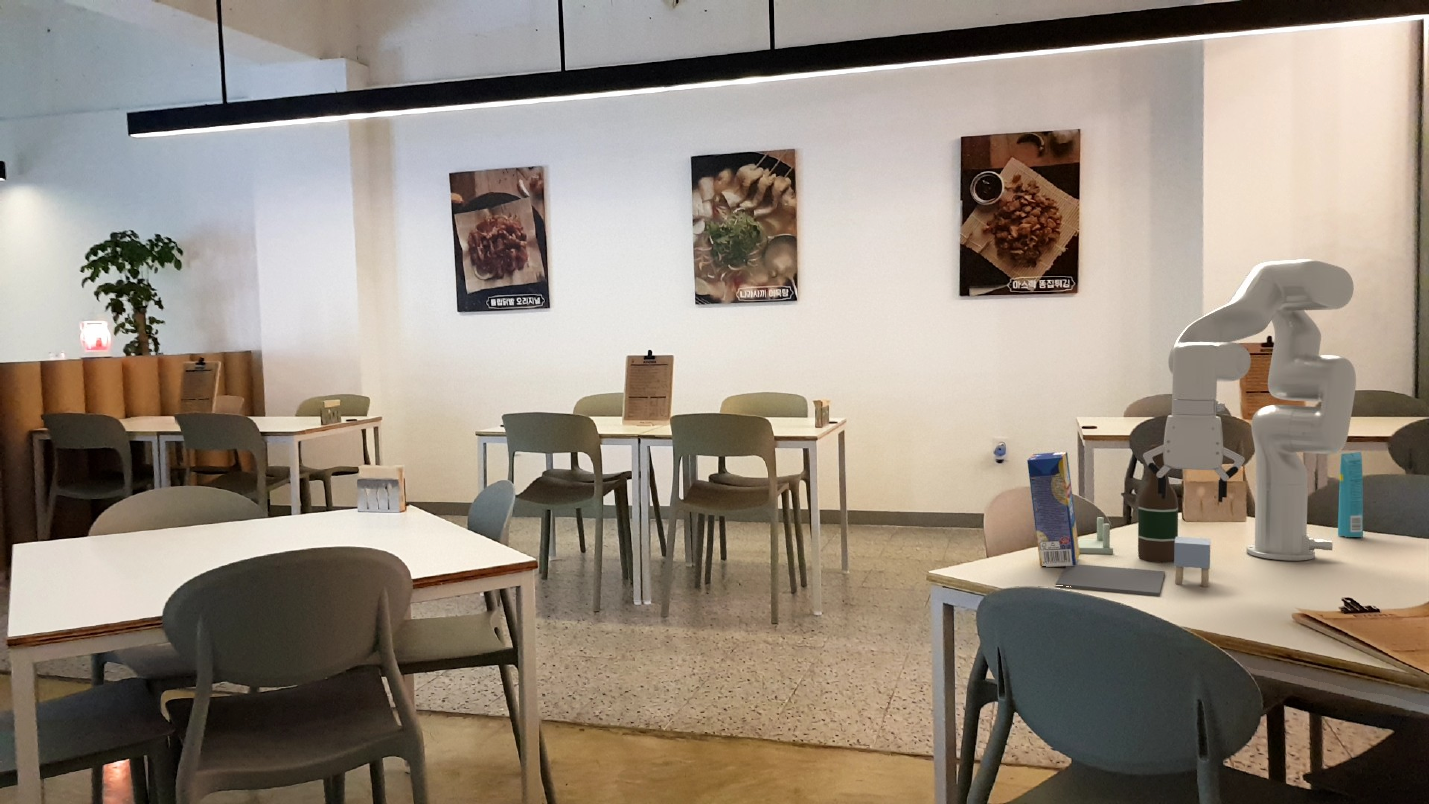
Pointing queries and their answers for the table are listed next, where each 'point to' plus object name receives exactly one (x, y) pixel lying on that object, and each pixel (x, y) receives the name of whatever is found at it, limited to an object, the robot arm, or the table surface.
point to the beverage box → (1053, 509)
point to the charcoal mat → (1112, 579)
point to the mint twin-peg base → (1097, 540)
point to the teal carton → (1351, 496)
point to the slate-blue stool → (1192, 557)
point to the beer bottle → (1157, 518)
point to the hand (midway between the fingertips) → (1191, 499)
